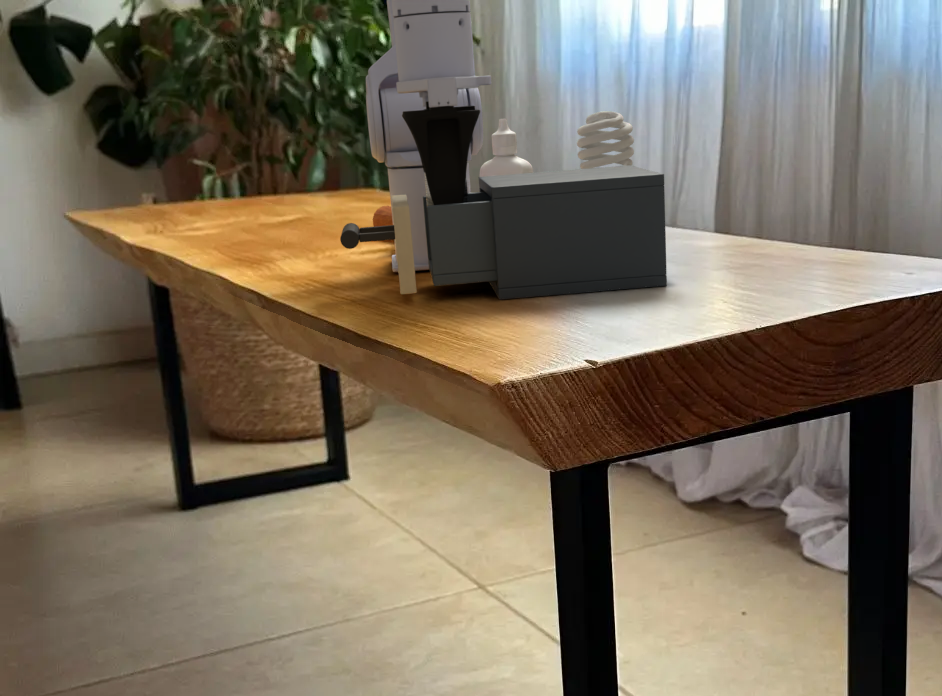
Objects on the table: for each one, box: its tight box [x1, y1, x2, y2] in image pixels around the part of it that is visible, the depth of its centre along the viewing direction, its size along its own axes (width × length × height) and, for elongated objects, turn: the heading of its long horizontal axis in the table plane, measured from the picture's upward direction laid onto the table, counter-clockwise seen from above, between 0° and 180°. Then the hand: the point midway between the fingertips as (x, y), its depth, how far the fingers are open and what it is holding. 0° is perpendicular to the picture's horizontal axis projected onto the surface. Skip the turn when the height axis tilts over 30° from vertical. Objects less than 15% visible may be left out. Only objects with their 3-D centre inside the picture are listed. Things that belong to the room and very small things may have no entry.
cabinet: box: [478, 165, 668, 301], centre depth 96 cm, size 13×13×8 cm
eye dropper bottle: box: [479, 118, 534, 177], centre depth 122 cm, size 4×6×12 cm
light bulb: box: [576, 110, 635, 169], centre depth 122 cm, size 6×6×12 cm
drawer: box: [339, 191, 497, 295], centre depth 95 cm, size 16×11×6 cm
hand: (447, 205), depth 94 cm, fingers closed on cylinder, 3 cm apart
